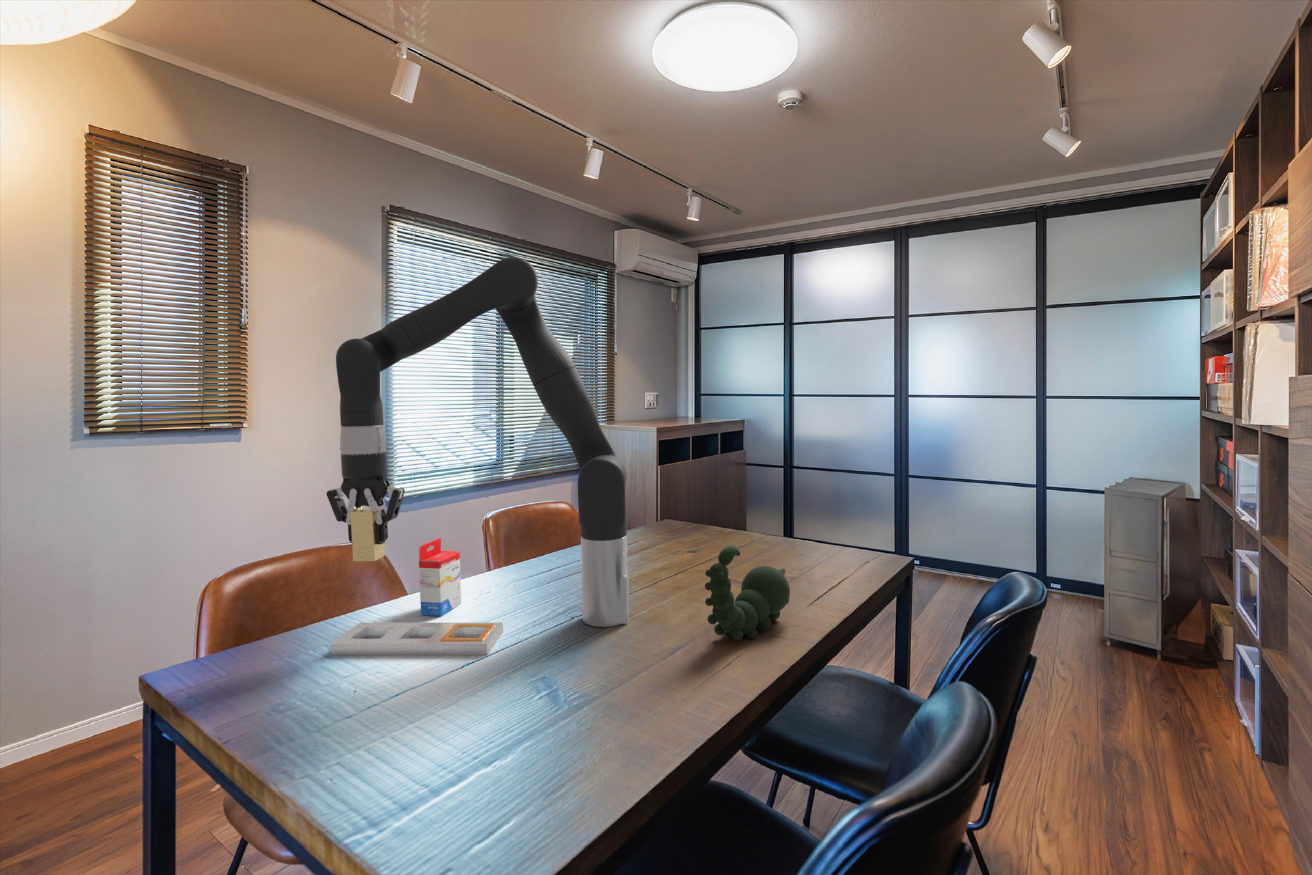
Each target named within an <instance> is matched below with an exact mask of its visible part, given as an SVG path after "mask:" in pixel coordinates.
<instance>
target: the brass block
mask: <svg viewBox="0 0 1312 875" xmlns="http://www.w3.org/2000/svg"><path fill="white" fill-rule="evenodd" d="M350 513H351V531H352V543H351V548H352V562H376V561H378V560H380V559H381V558H383V557H384V556H386V542H385V543H383V544H377V543H376V525H377V523H376V521H375V513H374V512H373V511H372V512H371V510H370V507H363V508H362V509H359V510H357V511H354V512H350Z"/></svg>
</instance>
